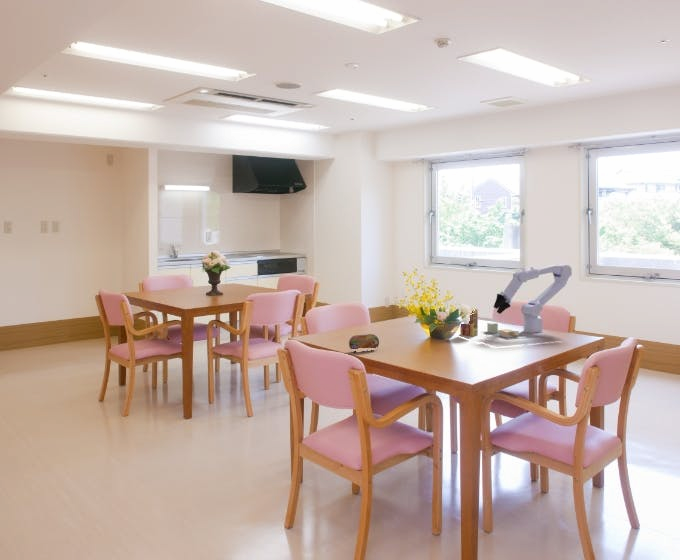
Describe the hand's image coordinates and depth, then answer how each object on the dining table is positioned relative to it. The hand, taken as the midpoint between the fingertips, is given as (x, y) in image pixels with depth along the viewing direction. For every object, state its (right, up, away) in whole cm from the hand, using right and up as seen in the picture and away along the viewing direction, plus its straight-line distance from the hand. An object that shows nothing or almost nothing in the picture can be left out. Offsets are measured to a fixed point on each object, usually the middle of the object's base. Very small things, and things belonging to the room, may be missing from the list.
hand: (496, 310), depth 321 cm
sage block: (-1, -12, +6) cm, 14 cm away
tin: (-73, -19, -28) cm, 80 cm away
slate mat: (+4, -14, -2) cm, 15 cm away
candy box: (-15, -14, +1) cm, 21 cm away
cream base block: (+5, -13, -6) cm, 15 cm away
